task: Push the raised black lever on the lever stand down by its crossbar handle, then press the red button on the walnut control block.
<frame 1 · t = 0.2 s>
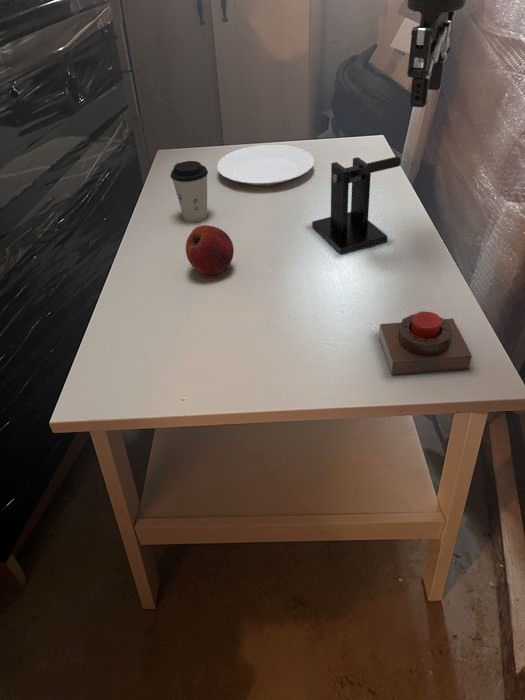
hand: (425, 97, 86), 24 cm above the table, tool pointing down, fingers open, 8 cm apart
coffee cup: (195, 217, 113), on the table
plate: (266, 173, 127), on the table
control block: (422, 352, 78), on the table
apple: (212, 271, 97), on the table
lever stand: (348, 234, 104), on the table
button: (426, 324, 75), point 5 cm above the table, slide at 0.2 cm
black lever: (365, 170, 92), point 13 cm above the table, hinge at 28.0°
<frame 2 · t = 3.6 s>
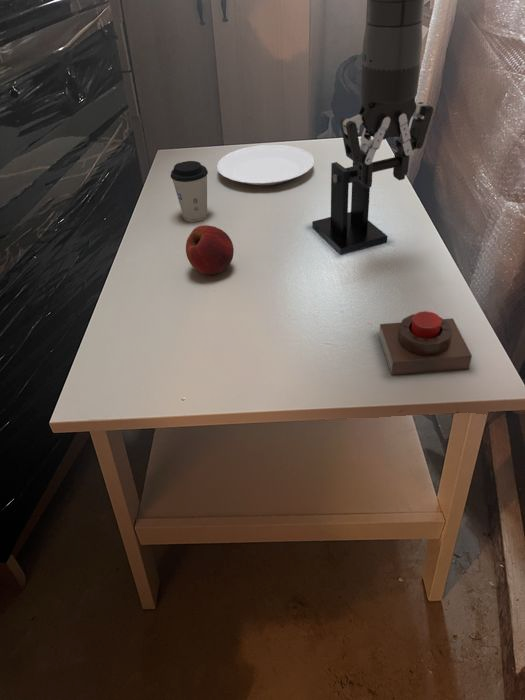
hand: (382, 181, 88), 14 cm above the table, tool pointing down, fingers closed on black lever, 5 cm apart
black lever: (365, 170, 92), point 13 cm above the table, hinge at 28.0°, touching gripper
everything else where it was.
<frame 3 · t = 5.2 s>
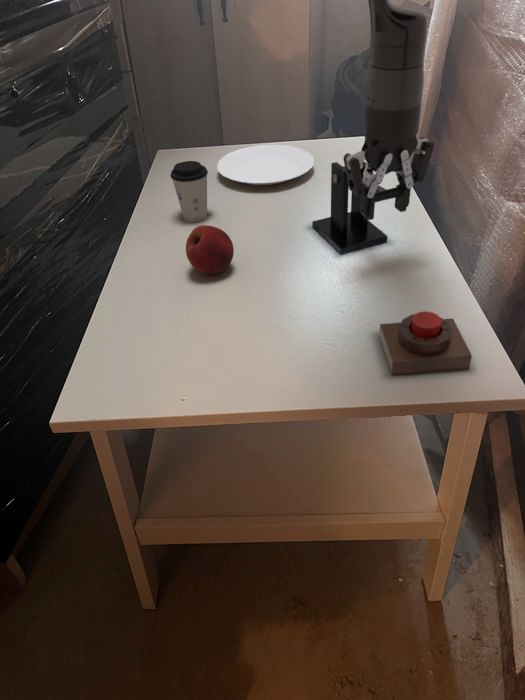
hand: (384, 213, 90), 9 cm above the table, tool pointing down, fingers closed on black lever, 5 cm apart
black lever: (366, 183, 93), point 11 cm above the table, hinge at 4.8°, touching gripper
everything else where it was.
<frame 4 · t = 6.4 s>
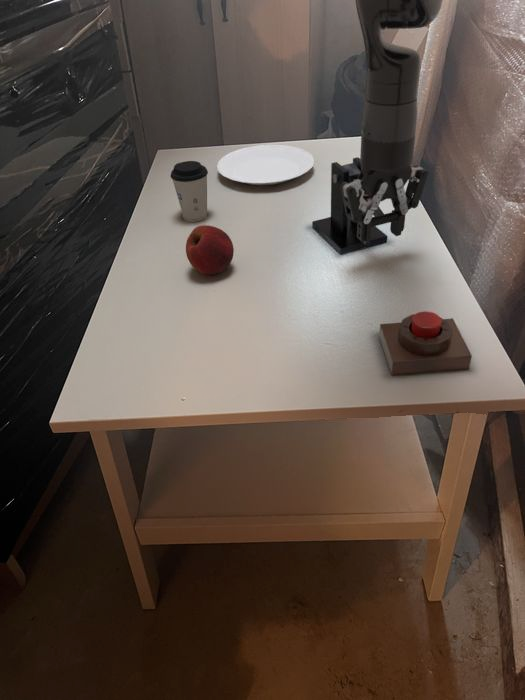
hand: (380, 237, 94), 4 cm above the table, tool pointing down, fingers closed on black lever, 5 cm apart
black lever: (365, 195, 94), point 9 cm above the table, hinge at -17.8°, touching gripper
everything else where it was.
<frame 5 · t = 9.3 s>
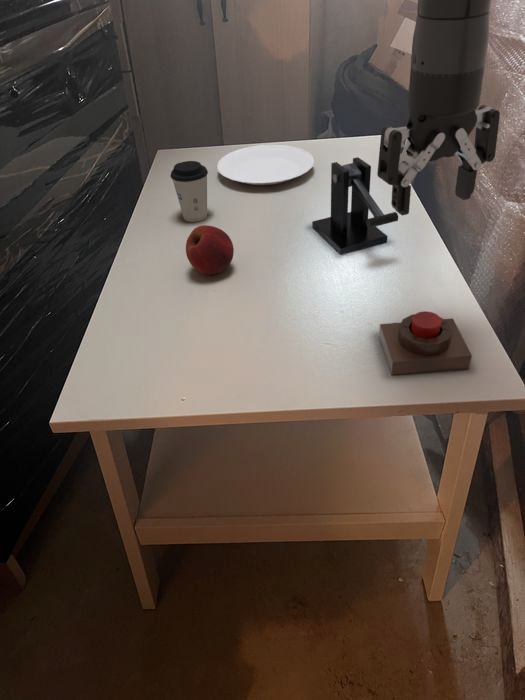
hand: (432, 204, 72), 18 cm above the table, tool pointing down, fingers open, 8 cm apart
black lever: (364, 195, 94), point 9 cm above the table, hinge at -18.4°
everything else where it was.
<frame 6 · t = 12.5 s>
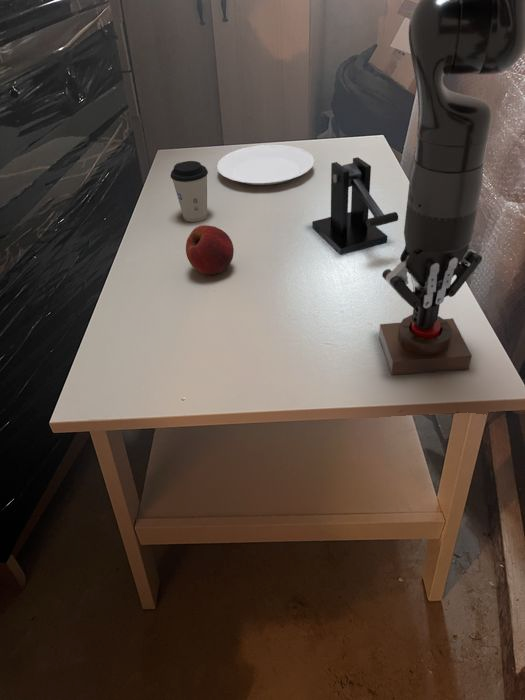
hand: (423, 325, 75), 5 cm above the table, tool pointing down, fingers closed
button: (425, 330, 76), point 4 cm above the table, slide at -0.7 cm, touching gripper
everything else where it was.
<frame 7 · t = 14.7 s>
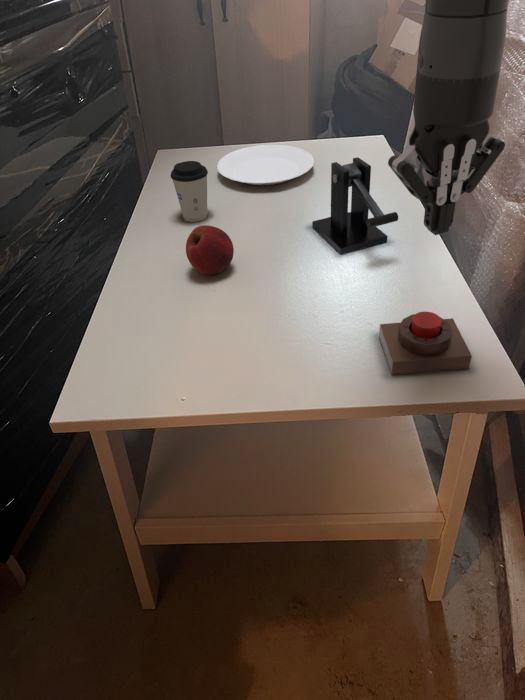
hand: (437, 230, 66), 18 cm above the table, tool pointing down, fingers closed
button: (426, 325, 75), point 5 cm above the table, slide at 0.1 cm
everything else where it was.
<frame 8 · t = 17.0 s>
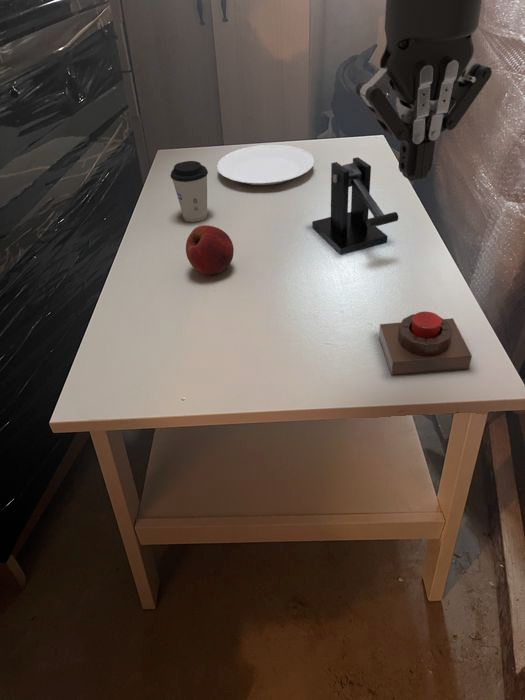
hand: (414, 176, 57), 27 cm above the table, tool pointing down, fingers closed
nothing on the table moved.
at the end: black lever at -18° (first picture: +28°); button pushed in 1.1 cm at the most during the clip, back to where it started at the end; button slide at 0.1 cm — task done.
